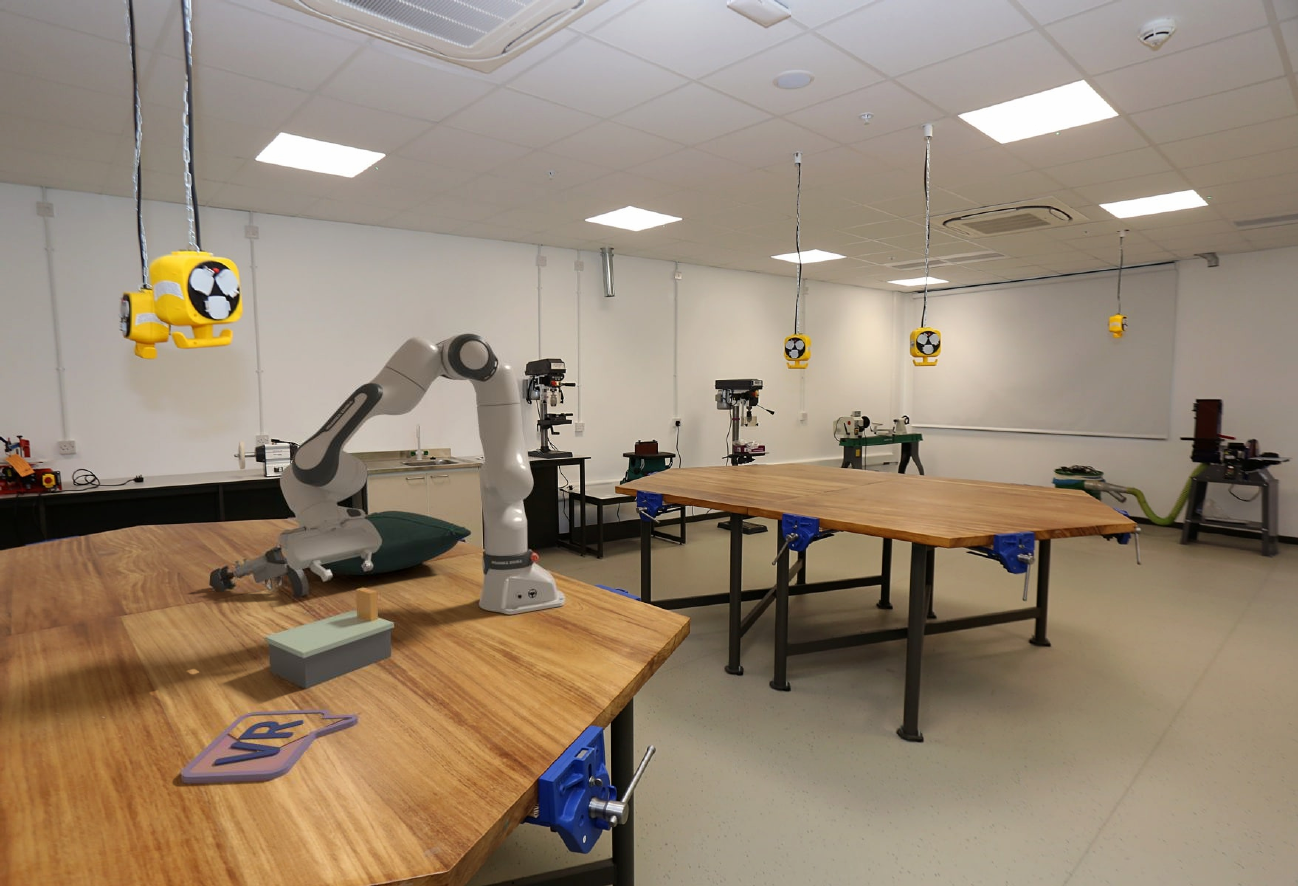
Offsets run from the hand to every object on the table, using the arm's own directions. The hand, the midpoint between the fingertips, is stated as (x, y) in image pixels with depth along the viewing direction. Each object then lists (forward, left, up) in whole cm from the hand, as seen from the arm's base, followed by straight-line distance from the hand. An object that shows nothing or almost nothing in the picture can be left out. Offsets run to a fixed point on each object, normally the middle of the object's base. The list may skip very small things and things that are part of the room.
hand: (349, 574), depth 141 cm
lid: (+2, +10, -11) cm, 15 cm away
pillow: (-1, -66, -17) cm, 68 cm away
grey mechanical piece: (+29, -50, -17) cm, 60 cm away
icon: (+6, +39, -17) cm, 43 cm away
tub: (+2, +10, -17) cm, 19 cm away
